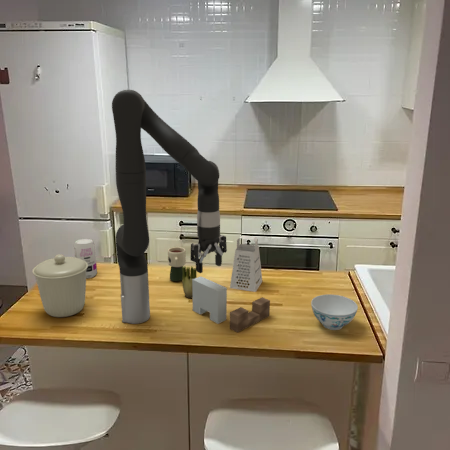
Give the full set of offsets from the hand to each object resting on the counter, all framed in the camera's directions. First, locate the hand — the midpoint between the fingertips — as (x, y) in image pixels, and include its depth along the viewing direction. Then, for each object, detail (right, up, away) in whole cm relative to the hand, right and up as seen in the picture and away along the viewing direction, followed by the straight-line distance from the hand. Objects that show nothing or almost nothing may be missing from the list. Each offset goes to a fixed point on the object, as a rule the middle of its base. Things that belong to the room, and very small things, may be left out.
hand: (209, 268), depth 157 cm
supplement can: (-52, -6, +38) cm, 65 cm away
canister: (-51, -16, +8) cm, 54 cm away
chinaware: (+41, -19, -1) cm, 46 cm away
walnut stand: (+14, -18, +1) cm, 23 cm away
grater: (+14, -9, +30) cm, 34 cm away
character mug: (-14, -8, +34) cm, 37 cm away
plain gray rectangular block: (0, -17, +5) cm, 17 cm away
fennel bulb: (-8, -12, +19) cm, 24 cm away
